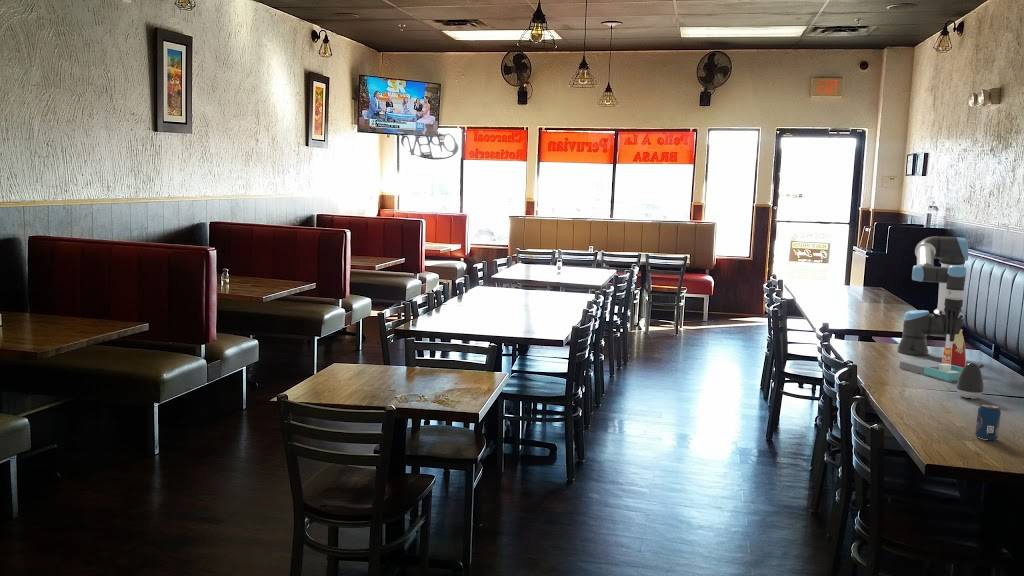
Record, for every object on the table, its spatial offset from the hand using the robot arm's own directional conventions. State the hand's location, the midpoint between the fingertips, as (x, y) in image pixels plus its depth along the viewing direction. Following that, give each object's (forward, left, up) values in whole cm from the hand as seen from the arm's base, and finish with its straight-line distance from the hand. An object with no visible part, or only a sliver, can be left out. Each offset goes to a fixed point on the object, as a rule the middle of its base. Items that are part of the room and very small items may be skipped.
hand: (948, 347), depth 381 cm
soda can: (+71, +80, -14) cm, 108 cm away
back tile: (0, -2, -11) cm, 11 cm away
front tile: (0, +4, -11) cm, 12 cm away
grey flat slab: (0, -12, -14) cm, 18 cm away
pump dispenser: (+25, +34, -14) cm, 45 cm away
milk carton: (-18, -12, -14) cm, 25 cm away
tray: (0, +3, -14) cm, 14 cm away
